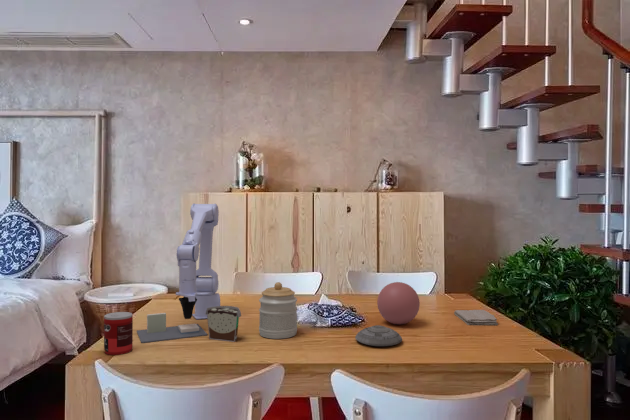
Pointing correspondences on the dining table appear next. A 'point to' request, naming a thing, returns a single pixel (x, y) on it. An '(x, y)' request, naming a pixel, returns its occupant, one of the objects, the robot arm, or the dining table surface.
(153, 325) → the tile sage
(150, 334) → the mat
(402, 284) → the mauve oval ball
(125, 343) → the canned food
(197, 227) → the robot arm
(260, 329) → the jar
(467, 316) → the washcloth
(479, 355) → the dining table surface
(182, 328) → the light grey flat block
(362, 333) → the flying saucer
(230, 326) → the food container
